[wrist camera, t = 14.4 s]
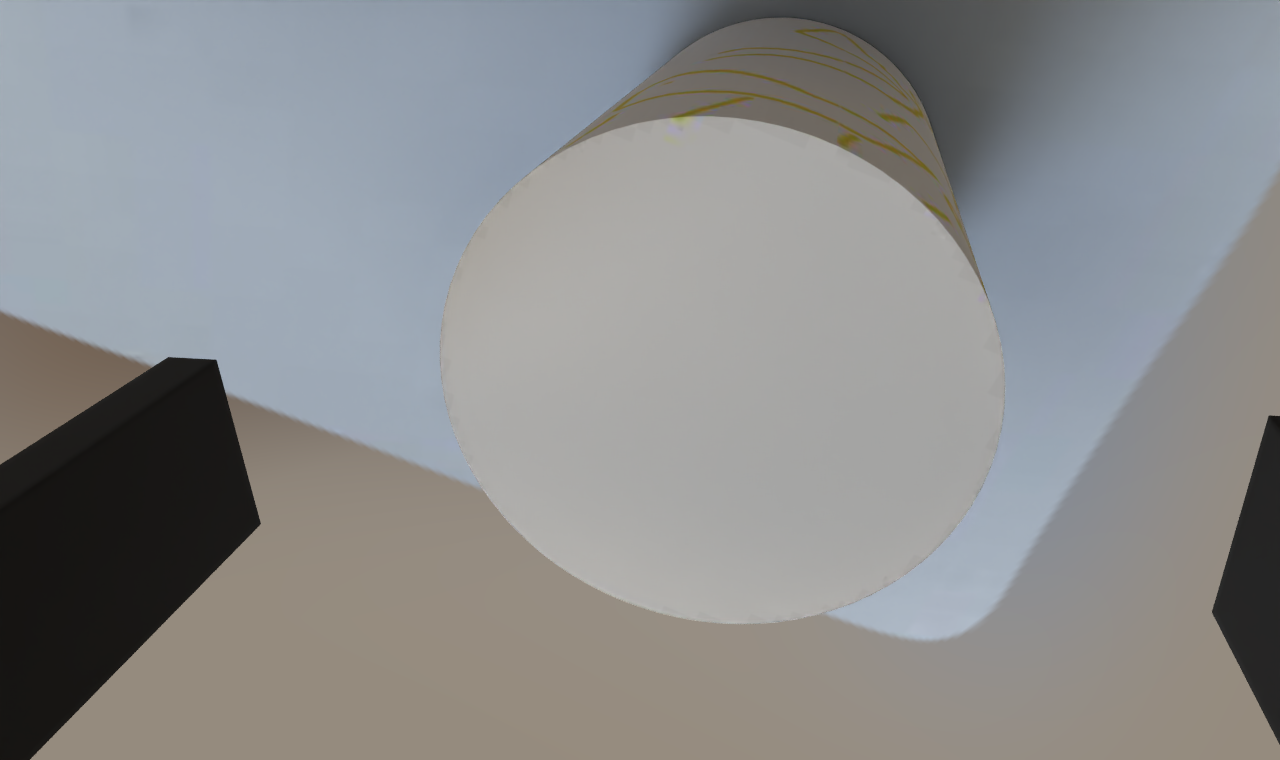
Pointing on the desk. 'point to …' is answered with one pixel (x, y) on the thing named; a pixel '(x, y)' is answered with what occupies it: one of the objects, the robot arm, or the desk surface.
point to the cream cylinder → (732, 336)
